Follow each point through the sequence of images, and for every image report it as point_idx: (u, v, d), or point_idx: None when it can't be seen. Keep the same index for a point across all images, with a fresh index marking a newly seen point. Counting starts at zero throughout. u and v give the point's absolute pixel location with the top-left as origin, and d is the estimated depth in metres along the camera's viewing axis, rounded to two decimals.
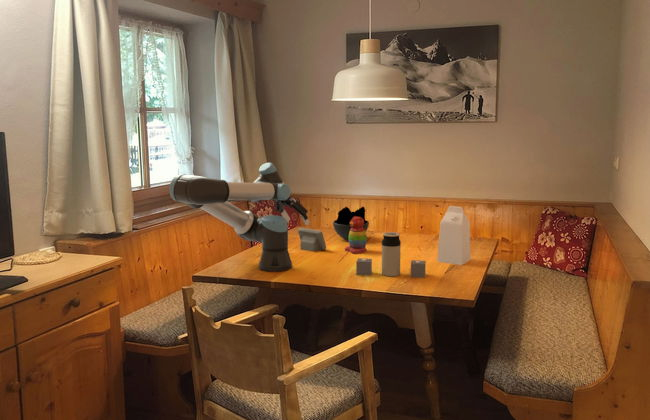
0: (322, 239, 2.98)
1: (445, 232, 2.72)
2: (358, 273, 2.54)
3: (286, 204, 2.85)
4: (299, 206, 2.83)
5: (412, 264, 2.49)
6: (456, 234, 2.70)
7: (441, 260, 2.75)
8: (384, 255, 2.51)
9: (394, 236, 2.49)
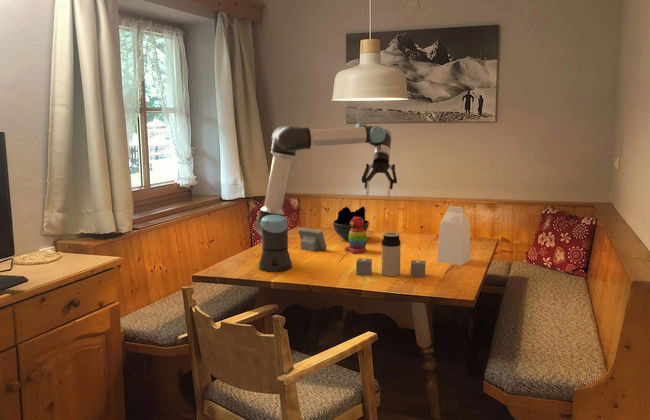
0: (322, 239, 2.98)
1: (445, 232, 2.72)
2: (358, 273, 2.54)
3: (383, 165, 2.75)
4: None
5: (412, 264, 2.49)
6: (456, 234, 2.70)
7: (441, 260, 2.75)
8: (384, 255, 2.51)
9: (394, 236, 2.49)
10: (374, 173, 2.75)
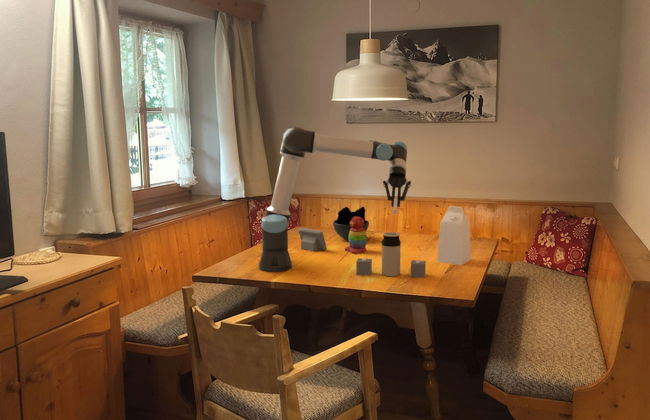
0: (322, 239, 2.98)
1: (445, 232, 2.72)
2: (358, 273, 2.54)
3: (399, 180, 2.65)
4: (407, 190, 2.63)
5: (412, 264, 2.49)
6: (456, 234, 2.70)
7: (441, 260, 2.75)
8: (384, 255, 2.51)
9: (394, 236, 2.49)
10: None
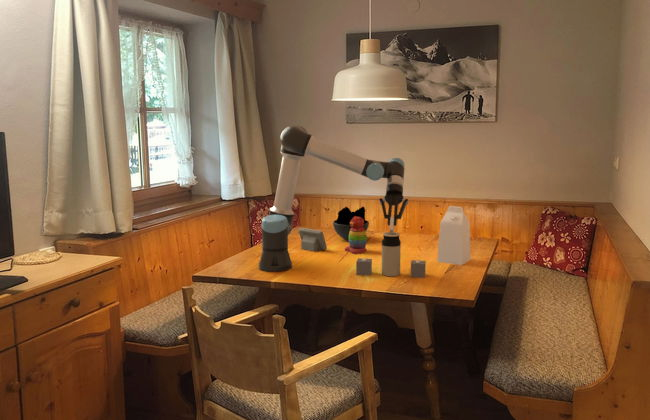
0: (322, 239, 2.98)
1: (445, 232, 2.72)
2: (358, 273, 2.54)
3: (396, 198, 2.59)
4: (403, 208, 2.57)
5: (412, 264, 2.49)
6: (456, 234, 2.70)
7: (441, 260, 2.75)
8: (384, 255, 2.51)
9: (394, 236, 2.49)
10: (391, 206, 2.59)
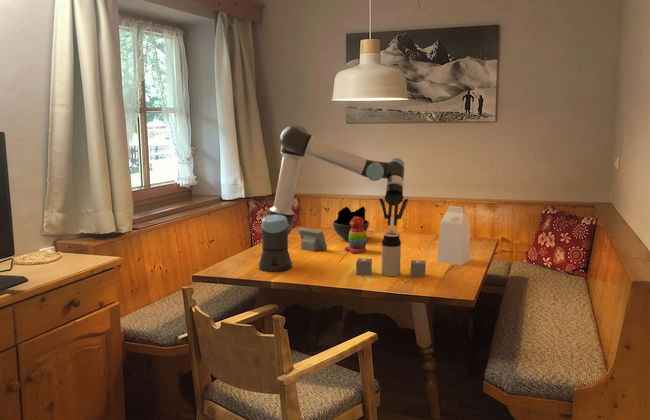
0: (323, 239, 2.98)
1: (445, 232, 2.72)
2: (358, 273, 2.54)
3: (396, 198, 2.59)
4: (404, 208, 2.57)
5: (412, 264, 2.49)
6: (456, 234, 2.70)
7: (441, 260, 2.75)
8: (384, 255, 2.51)
9: (394, 236, 2.48)
10: (391, 206, 2.59)
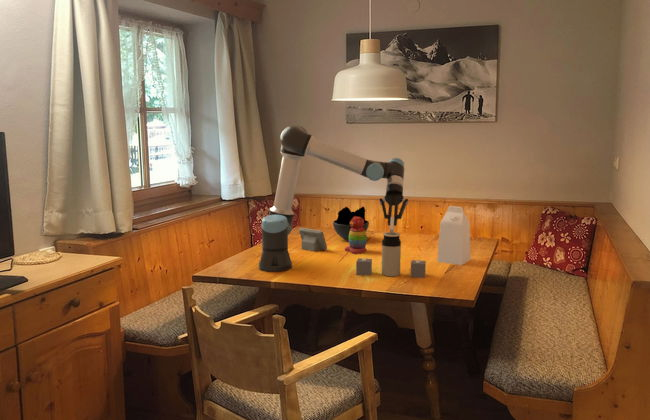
0: (323, 239, 2.98)
1: (445, 232, 2.72)
2: (358, 273, 2.54)
3: (396, 198, 2.59)
4: (404, 208, 2.57)
5: (412, 264, 2.49)
6: (456, 234, 2.70)
7: (441, 260, 2.75)
8: (384, 255, 2.51)
9: (394, 236, 2.48)
10: (391, 206, 2.59)
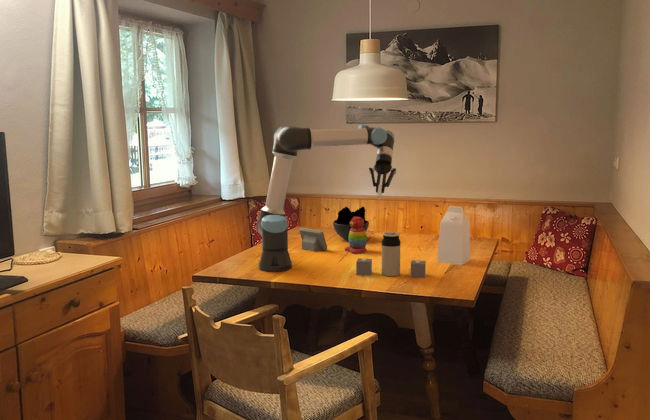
0: (323, 239, 2.98)
1: (445, 232, 2.72)
2: (358, 273, 2.54)
3: (385, 167, 2.73)
4: (391, 176, 2.71)
5: (412, 264, 2.49)
6: (456, 234, 2.70)
7: (441, 260, 2.75)
8: (384, 255, 2.51)
9: (394, 236, 2.49)
10: (380, 175, 2.73)
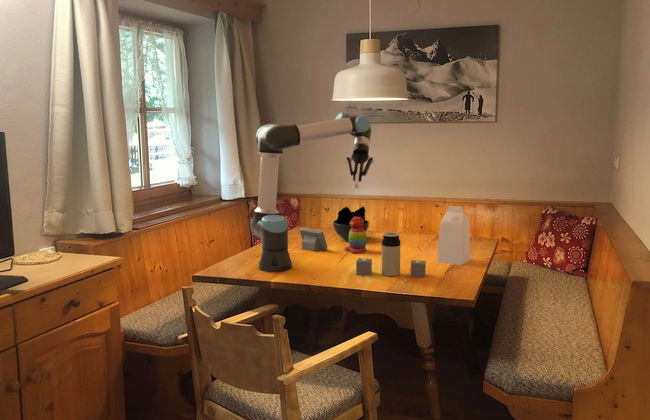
0: (323, 239, 2.98)
1: (445, 232, 2.72)
2: (358, 273, 2.54)
3: (362, 156, 2.78)
4: (368, 165, 2.76)
5: (412, 264, 2.49)
6: (456, 234, 2.70)
7: (441, 260, 2.75)
8: (384, 255, 2.51)
9: (394, 236, 2.49)
10: (357, 164, 2.79)
